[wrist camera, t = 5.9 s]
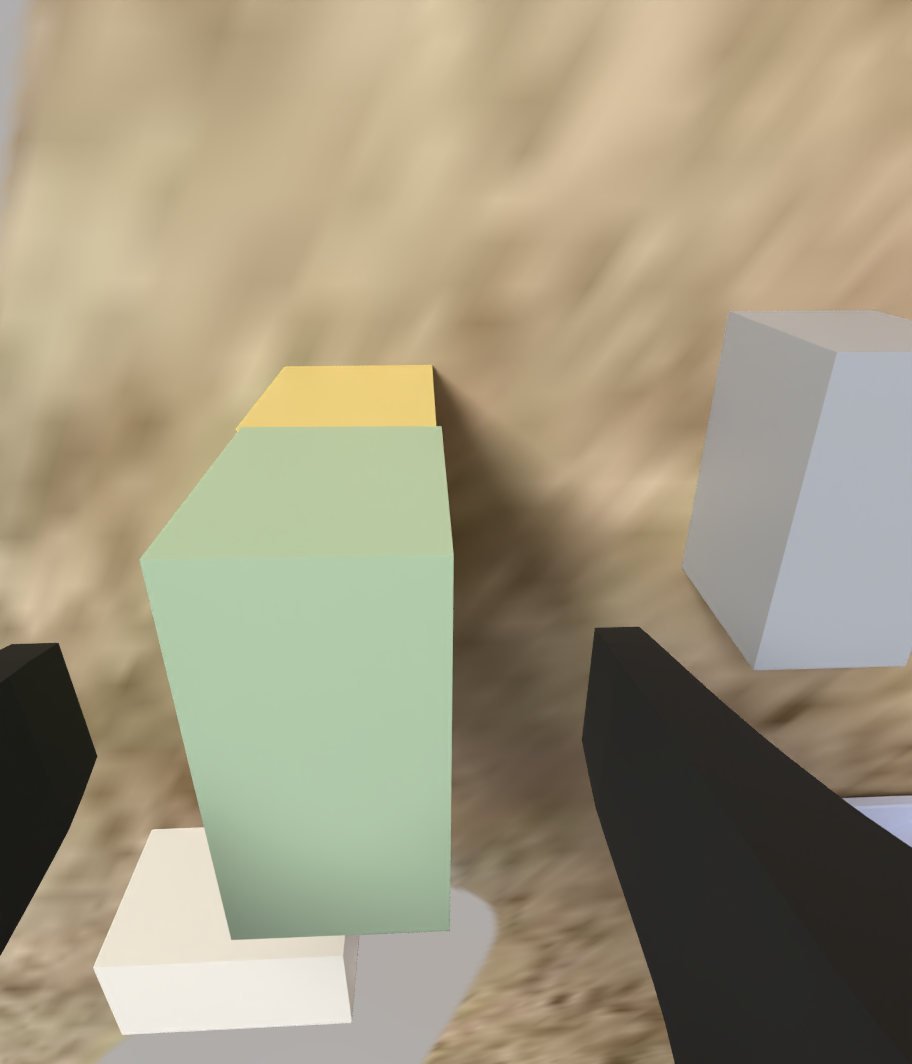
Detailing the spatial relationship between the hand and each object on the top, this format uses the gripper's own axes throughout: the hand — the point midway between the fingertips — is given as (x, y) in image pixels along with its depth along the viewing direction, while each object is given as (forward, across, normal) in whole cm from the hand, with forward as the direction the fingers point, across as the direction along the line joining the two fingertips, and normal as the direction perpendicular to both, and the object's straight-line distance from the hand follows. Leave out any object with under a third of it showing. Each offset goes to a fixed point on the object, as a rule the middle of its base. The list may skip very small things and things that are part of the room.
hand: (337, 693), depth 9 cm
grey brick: (+7, -9, -1) cm, 11 cm away
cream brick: (+7, +4, +12) cm, 14 cm away
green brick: (+2, 0, 0) cm, 2 cm away
